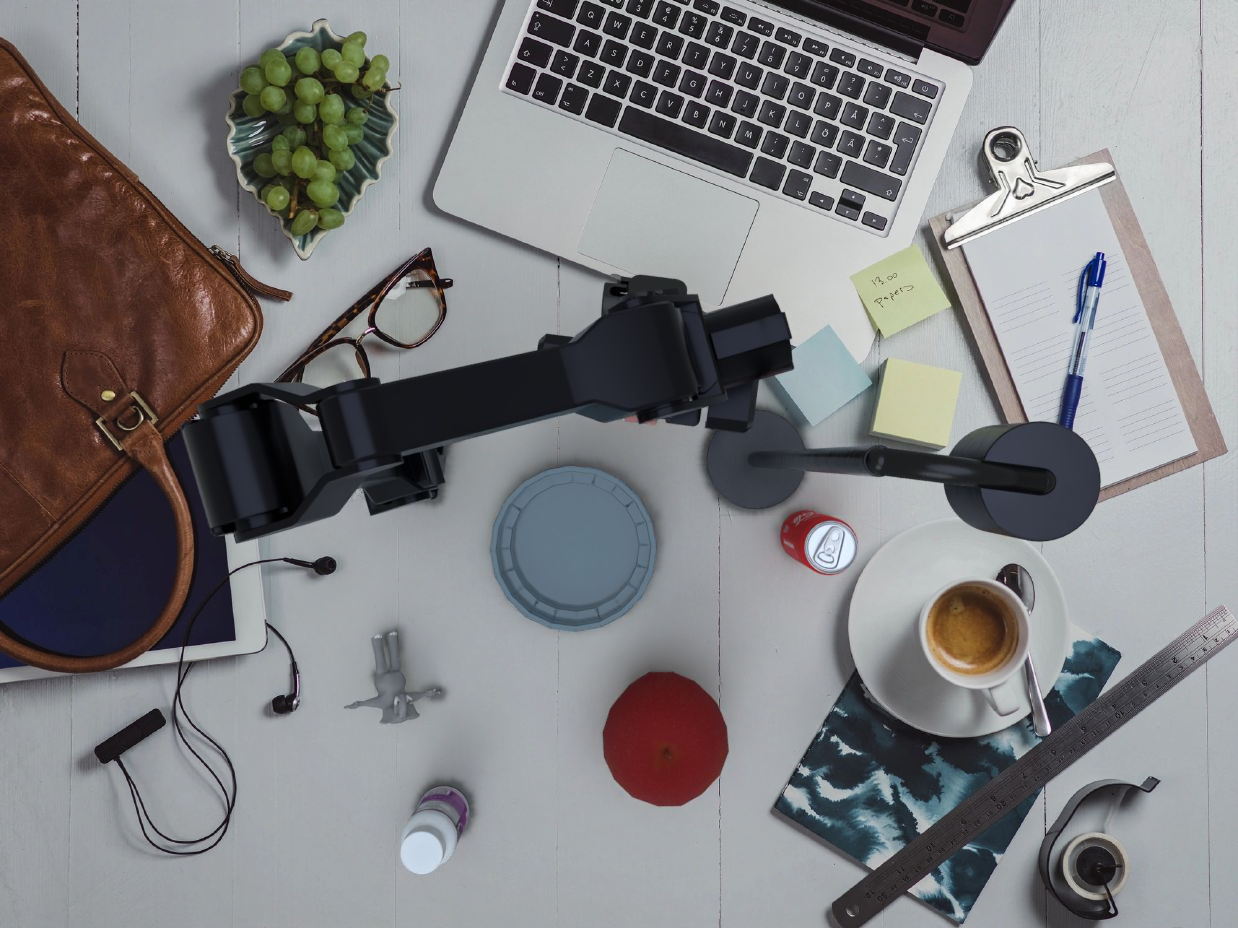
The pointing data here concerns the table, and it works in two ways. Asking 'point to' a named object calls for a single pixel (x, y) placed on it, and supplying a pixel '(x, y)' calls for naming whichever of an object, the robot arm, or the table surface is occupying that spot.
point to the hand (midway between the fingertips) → (644, 391)
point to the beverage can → (819, 542)
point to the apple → (665, 739)
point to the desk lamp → (928, 472)
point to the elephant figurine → (391, 685)
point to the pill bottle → (434, 829)
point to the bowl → (573, 548)
